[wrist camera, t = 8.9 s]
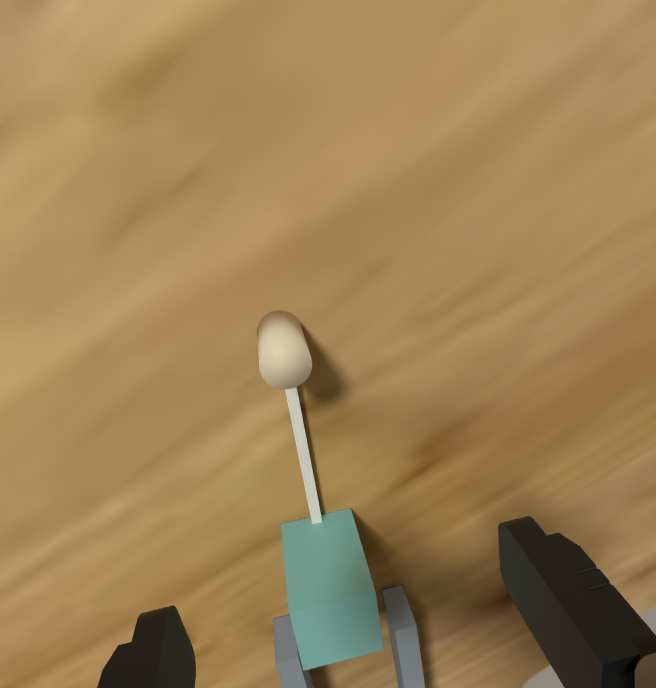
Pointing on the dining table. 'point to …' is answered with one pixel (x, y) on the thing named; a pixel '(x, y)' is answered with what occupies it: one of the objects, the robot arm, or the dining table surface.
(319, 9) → the dining table surface
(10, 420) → the dining table surface
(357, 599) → the tethered block
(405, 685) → the lane
